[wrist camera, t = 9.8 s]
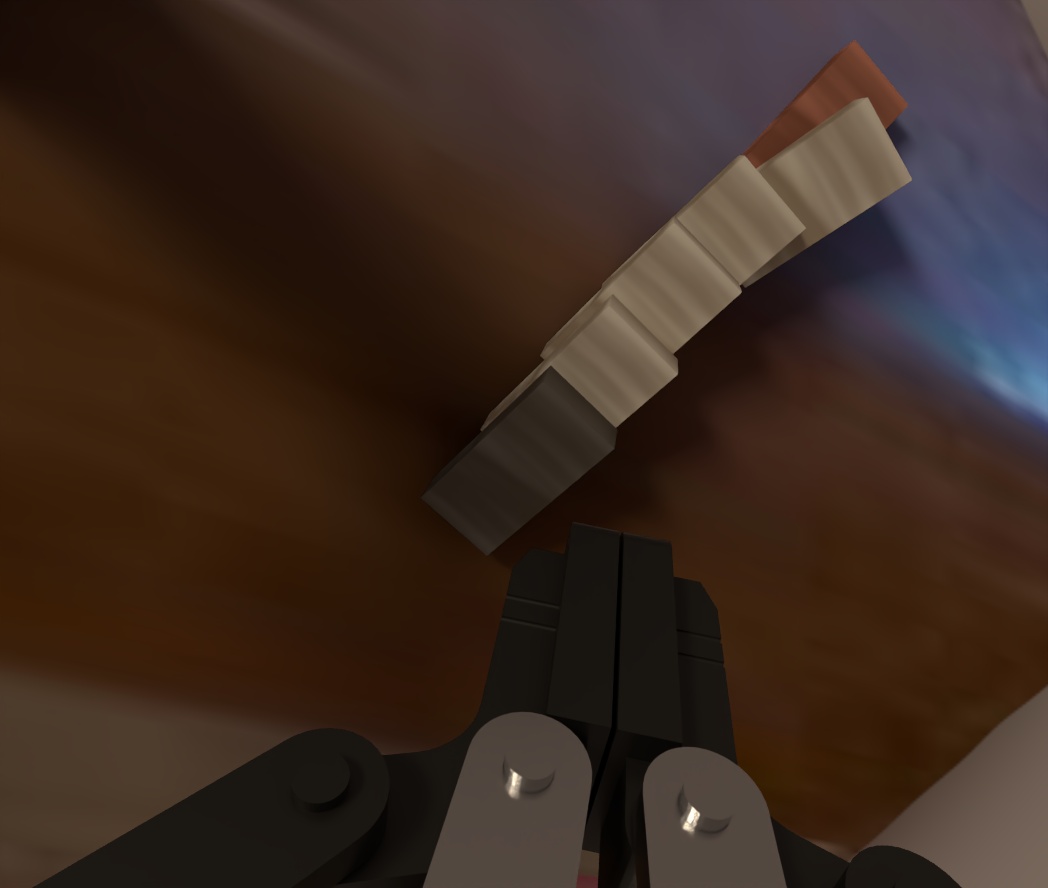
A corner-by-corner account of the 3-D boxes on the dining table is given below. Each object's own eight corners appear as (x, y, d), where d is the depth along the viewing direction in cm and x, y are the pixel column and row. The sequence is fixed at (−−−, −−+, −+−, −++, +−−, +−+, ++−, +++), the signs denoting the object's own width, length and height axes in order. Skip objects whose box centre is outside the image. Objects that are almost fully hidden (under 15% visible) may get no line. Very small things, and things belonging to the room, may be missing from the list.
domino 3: (544, 488, 42) (678, 374, 37) (480, 429, 41) (609, 305, 36) (550, 469, 44) (677, 359, 39) (489, 413, 43) (612, 293, 39)
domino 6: (745, 287, 42) (912, 180, 39) (699, 214, 41) (867, 97, 38) (739, 280, 45) (897, 177, 41) (695, 211, 43) (854, 99, 40)
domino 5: (796, 225, 43) (908, 105, 43) (740, 162, 42) (854, 39, 43) (776, 233, 45) (882, 119, 46) (722, 174, 44) (831, 57, 45)
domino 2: (603, 416, 42) (741, 292, 37) (539, 355, 41) (674, 222, 37) (607, 400, 44) (738, 282, 40) (546, 343, 43) (674, 215, 39)
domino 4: (486, 555, 41) (614, 448, 37) (420, 498, 40) (543, 381, 36) (495, 533, 43) (617, 429, 39) (433, 477, 43) (550, 365, 38)
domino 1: (660, 354, 42) (806, 228, 38) (601, 290, 41) (744, 155, 38) (658, 343, 44) (796, 223, 41) (602, 283, 43) (738, 155, 40)
